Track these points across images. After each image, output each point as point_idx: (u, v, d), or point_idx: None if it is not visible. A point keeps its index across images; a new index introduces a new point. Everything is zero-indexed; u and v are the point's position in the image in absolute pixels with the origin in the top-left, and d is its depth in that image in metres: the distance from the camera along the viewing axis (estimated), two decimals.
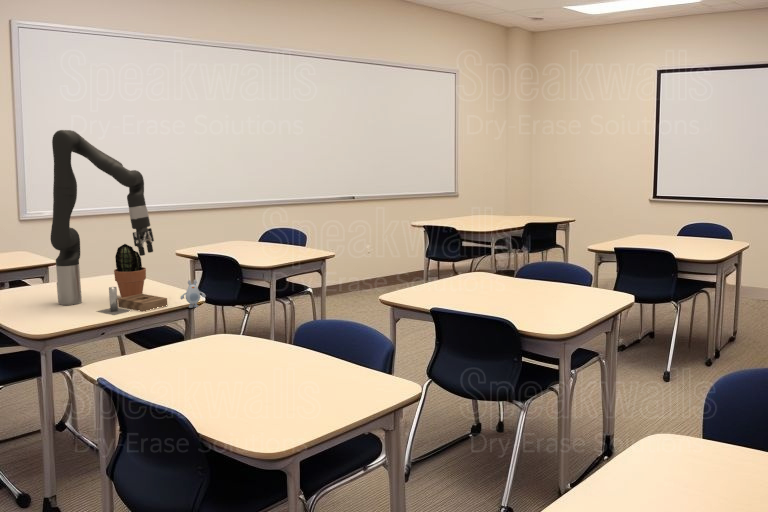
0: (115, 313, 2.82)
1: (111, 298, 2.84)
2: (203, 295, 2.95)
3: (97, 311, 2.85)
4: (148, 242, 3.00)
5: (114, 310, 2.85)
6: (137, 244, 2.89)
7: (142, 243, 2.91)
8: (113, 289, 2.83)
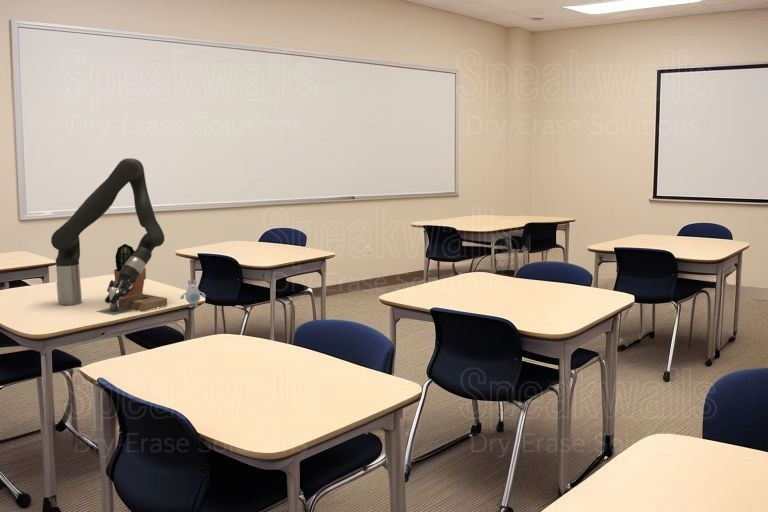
0: (115, 313, 2.82)
1: (111, 298, 2.84)
2: (203, 295, 2.95)
3: (97, 311, 2.85)
4: None
5: (114, 310, 2.85)
6: (123, 294, 2.84)
7: None
8: (113, 289, 2.83)
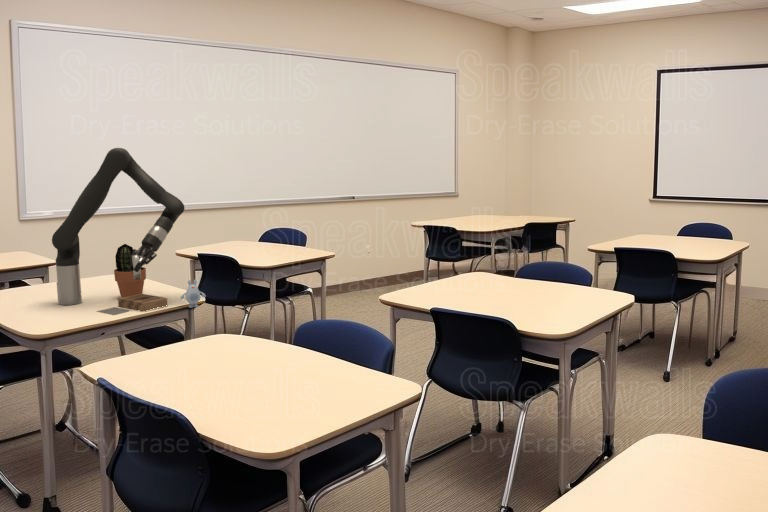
0: (115, 313, 2.82)
1: (134, 266, 2.89)
2: (203, 295, 2.95)
3: (97, 311, 2.85)
4: None
5: (137, 278, 2.90)
6: (146, 261, 2.89)
7: None
8: (136, 257, 2.88)
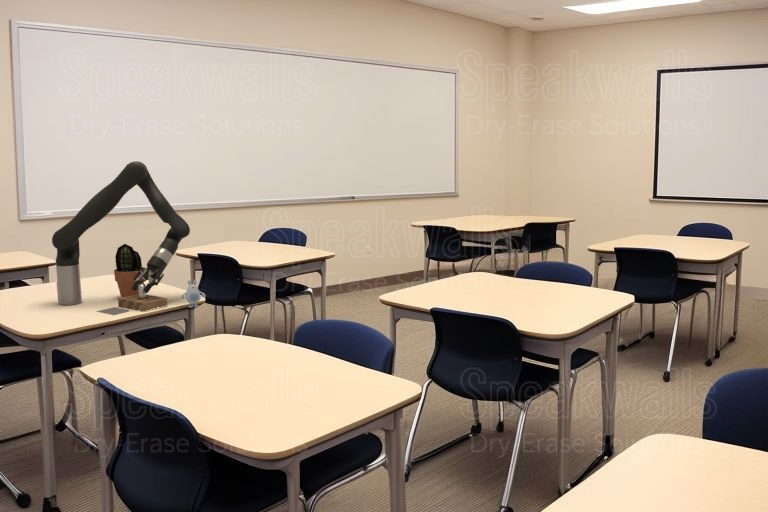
0: (115, 313, 2.82)
1: (140, 295, 2.92)
2: (203, 295, 2.95)
3: (97, 311, 2.85)
4: (138, 281, 2.96)
5: None
6: (156, 282, 2.91)
7: None
8: (142, 286, 2.92)
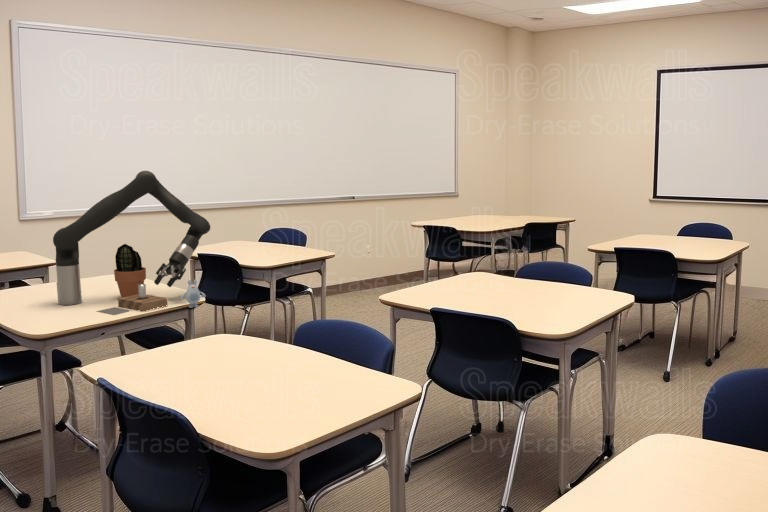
0: (115, 313, 2.82)
1: (140, 295, 2.92)
2: (203, 295, 2.95)
3: (97, 311, 2.85)
4: (161, 275, 3.06)
5: None
6: (179, 277, 3.01)
7: None
8: (142, 286, 2.92)
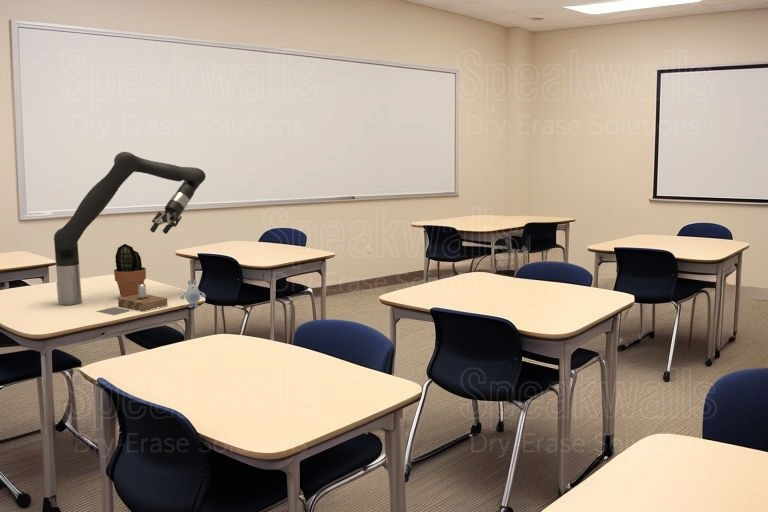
0: (115, 313, 2.82)
1: (140, 295, 2.92)
2: (203, 295, 2.95)
3: (97, 311, 2.85)
4: (157, 223, 3.09)
5: None
6: (175, 224, 3.04)
7: (172, 225, 3.06)
8: (142, 286, 2.92)
